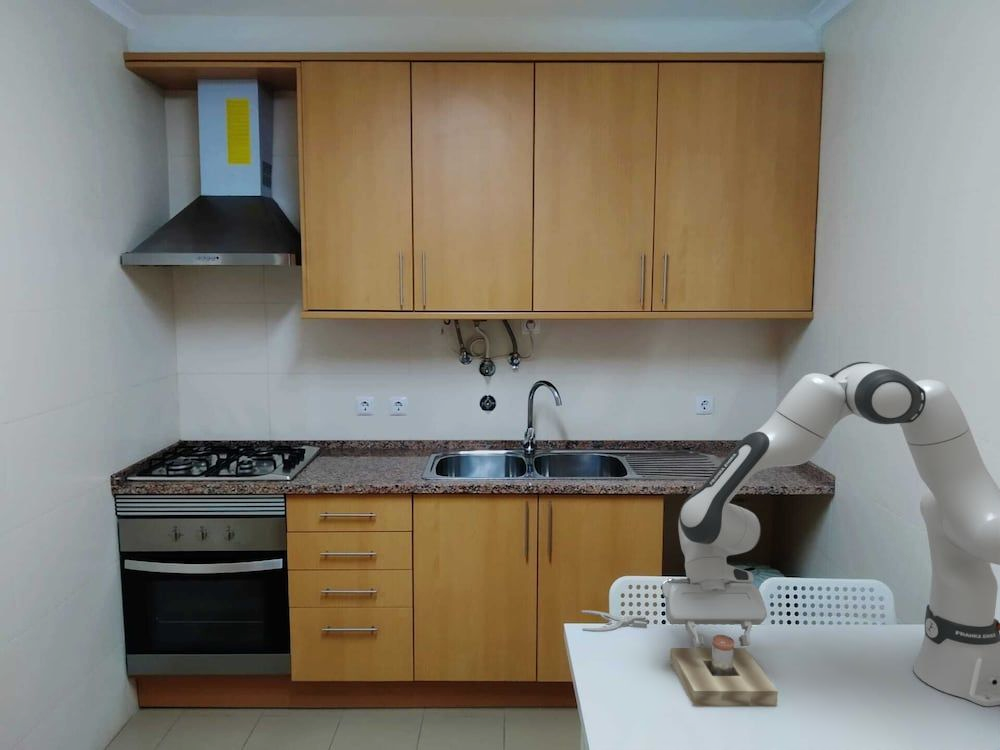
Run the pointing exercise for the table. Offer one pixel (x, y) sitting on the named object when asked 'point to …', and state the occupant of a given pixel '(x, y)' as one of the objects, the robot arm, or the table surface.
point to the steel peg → (722, 655)
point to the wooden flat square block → (722, 679)
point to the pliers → (627, 621)
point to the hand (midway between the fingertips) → (722, 645)
